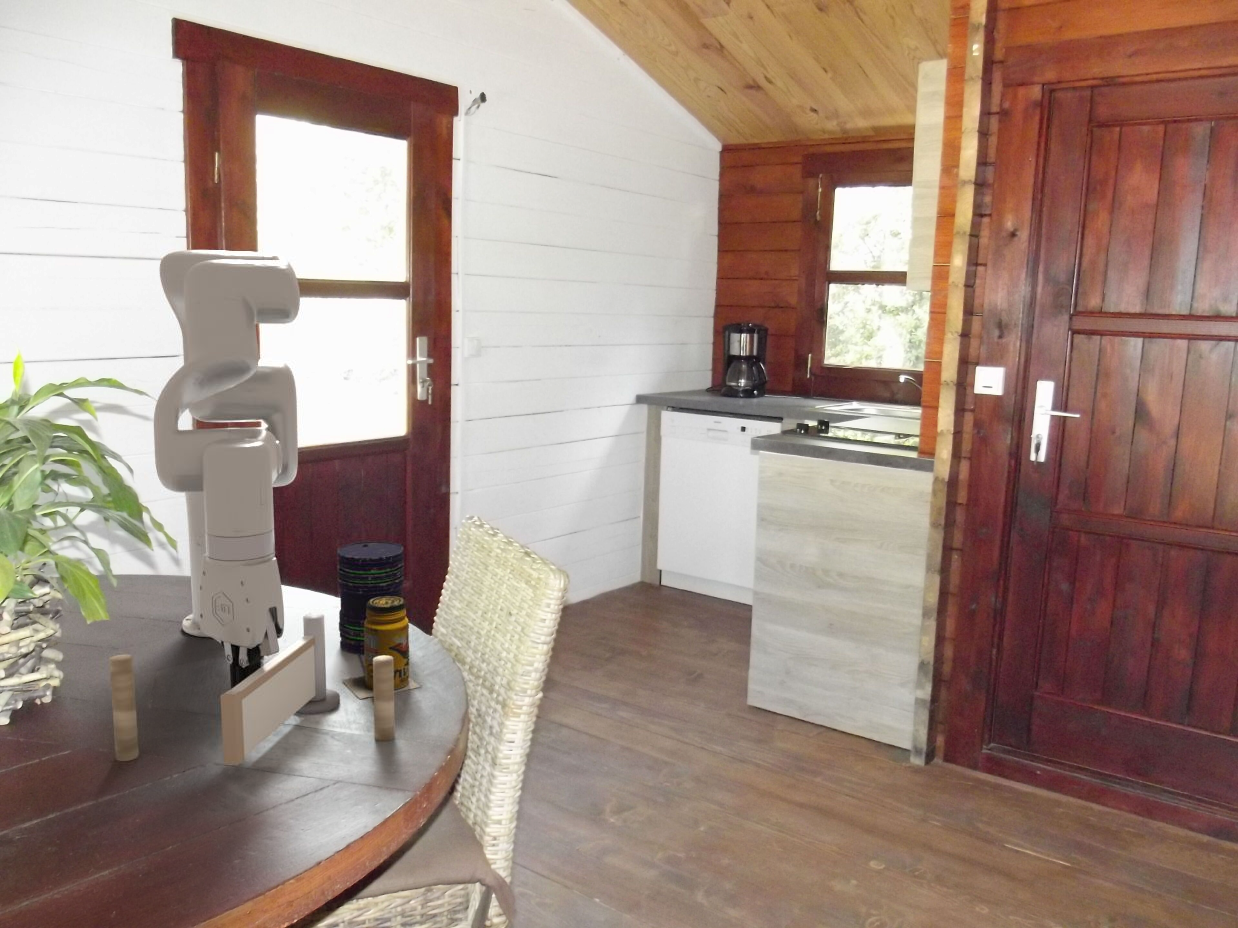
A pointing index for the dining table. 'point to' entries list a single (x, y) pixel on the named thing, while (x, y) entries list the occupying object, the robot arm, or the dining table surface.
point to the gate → (274, 692)
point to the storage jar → (365, 585)
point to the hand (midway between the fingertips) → (246, 692)
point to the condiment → (384, 644)
